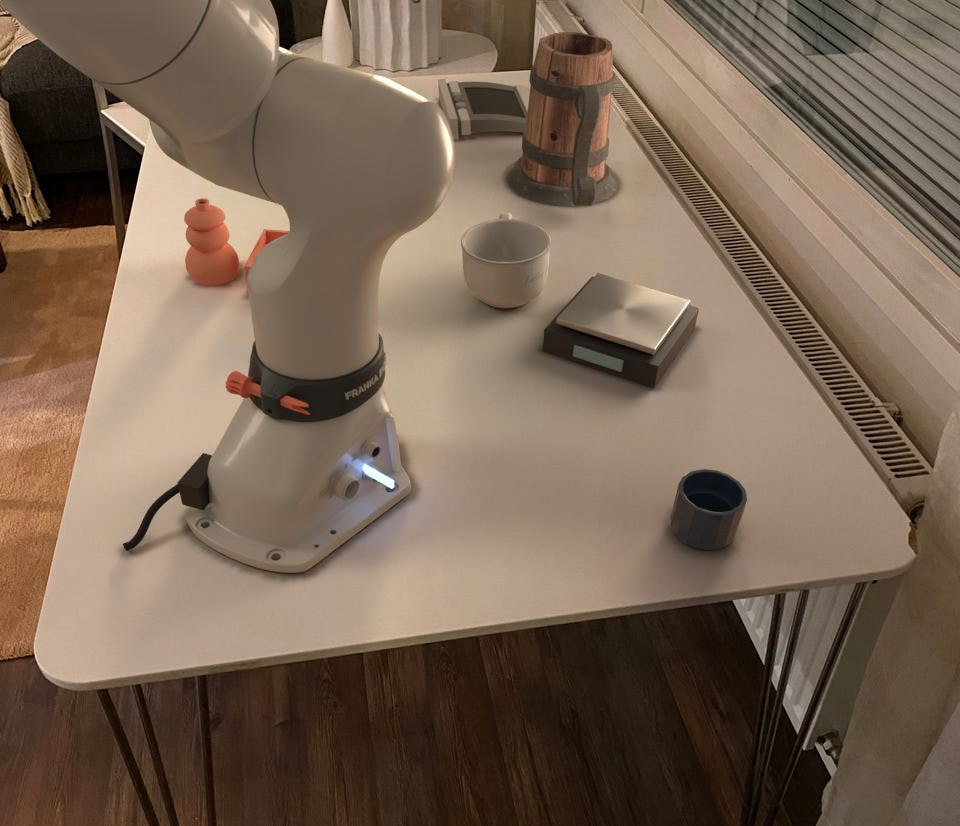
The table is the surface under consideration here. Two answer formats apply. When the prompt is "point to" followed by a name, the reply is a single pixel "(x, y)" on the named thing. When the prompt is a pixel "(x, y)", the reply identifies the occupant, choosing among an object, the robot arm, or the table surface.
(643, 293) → the scale pan
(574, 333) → the scale
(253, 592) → the table surface
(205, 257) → the pottery
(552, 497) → the table surface
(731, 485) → the cup
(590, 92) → the tankard
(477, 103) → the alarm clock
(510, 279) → the teacup
